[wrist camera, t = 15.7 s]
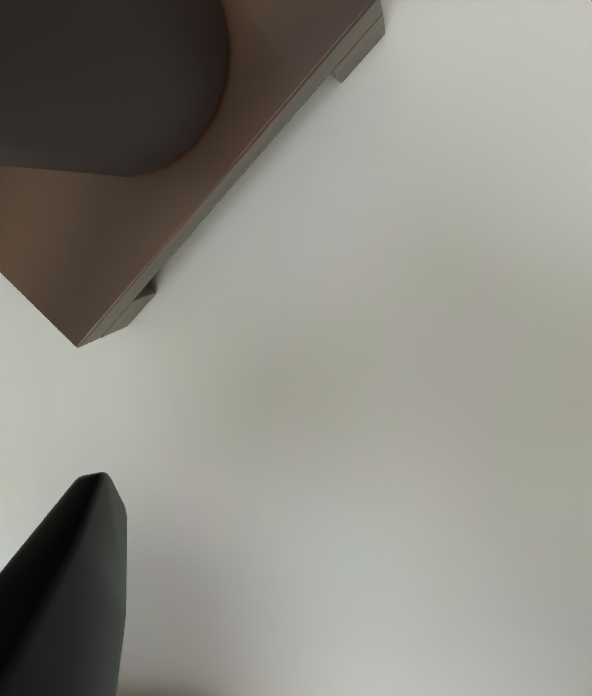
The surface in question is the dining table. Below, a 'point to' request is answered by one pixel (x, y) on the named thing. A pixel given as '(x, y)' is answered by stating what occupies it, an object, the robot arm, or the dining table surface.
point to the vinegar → (107, 82)
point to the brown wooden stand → (171, 170)
